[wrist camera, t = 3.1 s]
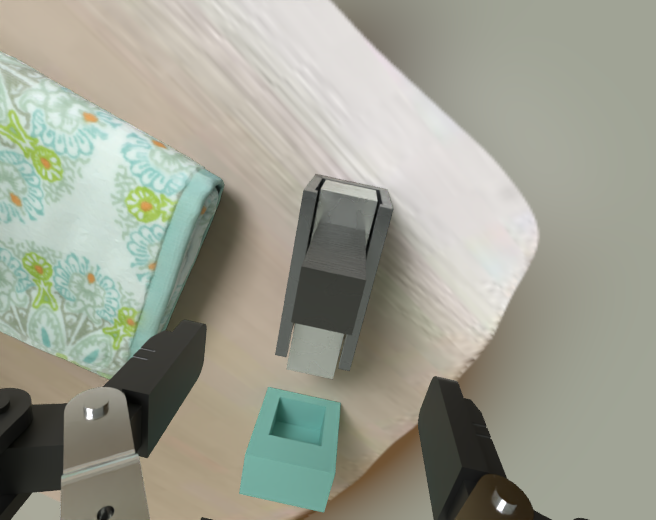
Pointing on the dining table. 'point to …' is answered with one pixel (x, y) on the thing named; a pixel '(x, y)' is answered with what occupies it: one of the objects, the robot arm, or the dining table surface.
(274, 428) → the socket block
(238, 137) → the dining table surface
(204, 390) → the dining table surface
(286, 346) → the sleeve
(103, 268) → the towel
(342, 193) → the inner bar
